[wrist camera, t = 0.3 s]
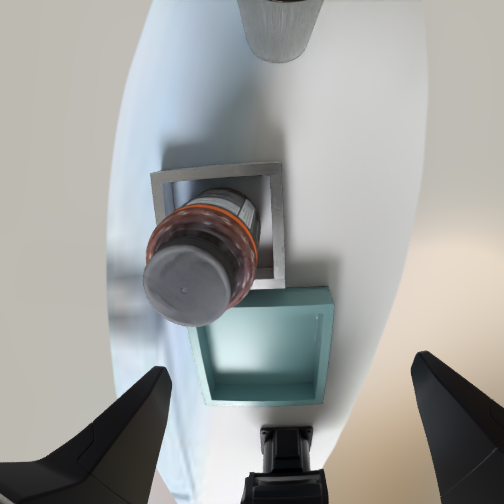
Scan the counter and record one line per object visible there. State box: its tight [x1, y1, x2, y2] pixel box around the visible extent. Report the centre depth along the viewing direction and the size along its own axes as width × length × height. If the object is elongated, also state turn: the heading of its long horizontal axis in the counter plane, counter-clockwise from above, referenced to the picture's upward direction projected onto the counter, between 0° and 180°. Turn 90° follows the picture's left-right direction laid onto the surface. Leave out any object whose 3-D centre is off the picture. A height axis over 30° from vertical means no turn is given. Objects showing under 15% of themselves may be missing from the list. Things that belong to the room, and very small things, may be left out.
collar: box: [150, 161, 285, 289], centre depth 22 cm, size 9×9×2 cm
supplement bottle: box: [143, 188, 261, 327], centre depth 18 cm, size 6×6×11 cm
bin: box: [187, 286, 334, 406], centre depth 25 cm, size 12×12×3 cm
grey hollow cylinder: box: [237, 0, 324, 63], centre depth 13 cm, size 4×4×10 cm
